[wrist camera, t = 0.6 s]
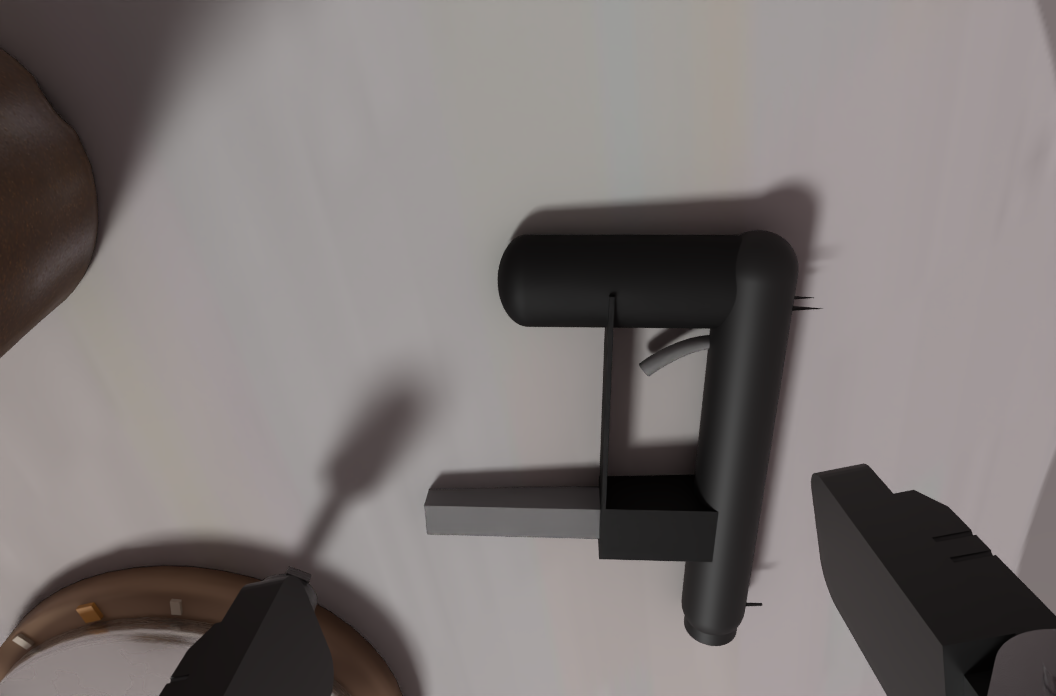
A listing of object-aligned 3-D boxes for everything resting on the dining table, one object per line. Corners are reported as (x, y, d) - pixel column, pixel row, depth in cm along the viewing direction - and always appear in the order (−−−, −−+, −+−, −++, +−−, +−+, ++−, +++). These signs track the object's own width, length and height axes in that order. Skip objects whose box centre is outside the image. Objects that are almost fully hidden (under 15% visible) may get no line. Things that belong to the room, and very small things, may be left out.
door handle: (433, 640, 35) (771, 652, 34) (394, 243, 26) (846, 244, 26) (444, 590, 38) (754, 599, 37) (412, 217, 29) (817, 218, 29)
